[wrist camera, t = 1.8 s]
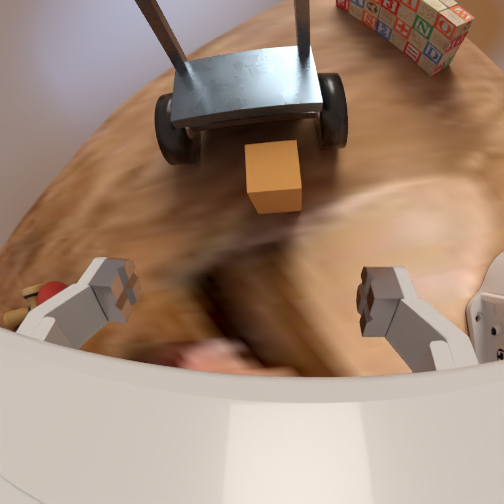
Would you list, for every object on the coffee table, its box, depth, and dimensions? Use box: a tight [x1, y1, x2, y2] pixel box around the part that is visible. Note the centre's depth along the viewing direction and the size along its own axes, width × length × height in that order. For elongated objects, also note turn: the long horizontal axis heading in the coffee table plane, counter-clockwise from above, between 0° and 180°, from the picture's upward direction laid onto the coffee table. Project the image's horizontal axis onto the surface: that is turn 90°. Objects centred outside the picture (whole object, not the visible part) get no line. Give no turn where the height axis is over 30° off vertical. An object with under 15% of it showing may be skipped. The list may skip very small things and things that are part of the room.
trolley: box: [135, 0, 348, 165], centre depth 26 cm, size 10×21×23 cm, turn 93°
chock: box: [245, 140, 302, 214], centre depth 32 cm, size 5×5×8 cm
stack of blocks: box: [336, 0, 474, 77], centre depth 31 cm, size 21×6×12 cm, turn 37°
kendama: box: [3, 281, 68, 328], centre depth 37 cm, size 8×6×18 cm
